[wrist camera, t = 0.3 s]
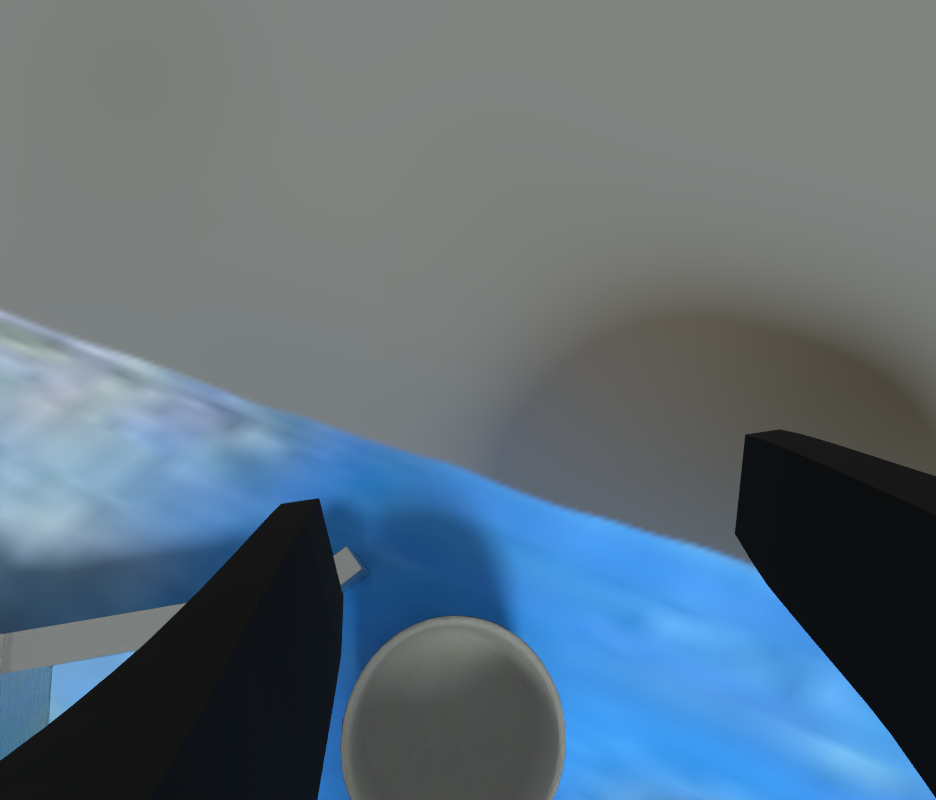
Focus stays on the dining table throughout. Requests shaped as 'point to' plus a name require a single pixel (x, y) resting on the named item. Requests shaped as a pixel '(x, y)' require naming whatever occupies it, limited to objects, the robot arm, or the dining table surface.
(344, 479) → the dining table surface
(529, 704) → the teacup
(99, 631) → the motor block
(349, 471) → the dining table surface
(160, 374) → the dining table surface
